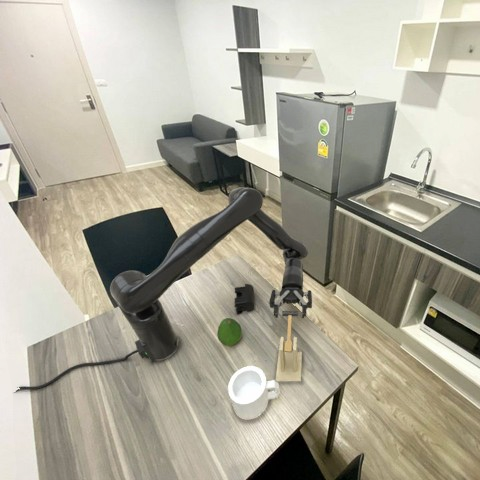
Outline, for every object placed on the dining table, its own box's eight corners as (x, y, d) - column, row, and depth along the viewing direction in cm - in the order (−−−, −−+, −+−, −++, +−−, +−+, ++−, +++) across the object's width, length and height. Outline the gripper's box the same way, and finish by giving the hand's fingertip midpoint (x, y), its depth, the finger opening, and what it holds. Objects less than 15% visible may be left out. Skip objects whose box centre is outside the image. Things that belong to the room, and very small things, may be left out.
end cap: (255, 312, 105) (253, 300, 101) (236, 315, 103) (234, 303, 99) (254, 293, 113) (252, 282, 109) (236, 296, 111) (234, 285, 107)
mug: (278, 378, 84) (276, 360, 78) (281, 413, 76) (280, 396, 70) (234, 387, 81) (228, 369, 75) (233, 425, 73) (226, 408, 67)
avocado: (226, 355, 90) (220, 334, 83) (216, 339, 94) (209, 318, 87) (247, 342, 94) (243, 321, 87) (237, 327, 99) (232, 306, 92)
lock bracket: (278, 353, 91) (276, 328, 83) (302, 353, 92) (302, 329, 84) (275, 382, 83) (272, 359, 75) (300, 382, 84) (300, 359, 75)
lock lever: (282, 312, 87) (282, 310, 85) (298, 312, 87) (297, 310, 85) (280, 352, 81) (279, 351, 79) (296, 352, 81) (296, 351, 79)
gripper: (272, 272, 95) (266, 308, 82) (312, 273, 96) (312, 309, 83) (274, 287, 100) (268, 323, 86) (311, 288, 100) (311, 324, 87)
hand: (289, 316), depth 85 cm, fingers open, 8 cm apart
